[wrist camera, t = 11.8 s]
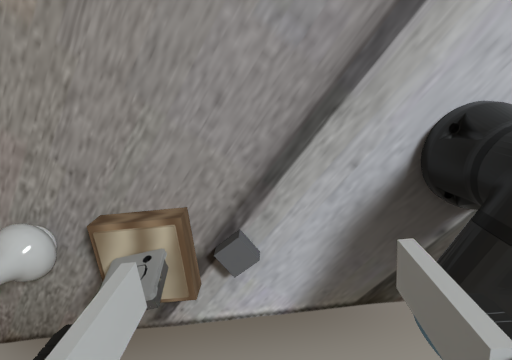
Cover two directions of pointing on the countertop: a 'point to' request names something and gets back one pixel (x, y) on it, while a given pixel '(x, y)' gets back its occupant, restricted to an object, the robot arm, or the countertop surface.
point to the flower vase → (26, 252)
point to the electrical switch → (146, 273)
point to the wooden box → (150, 246)
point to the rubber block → (237, 253)
